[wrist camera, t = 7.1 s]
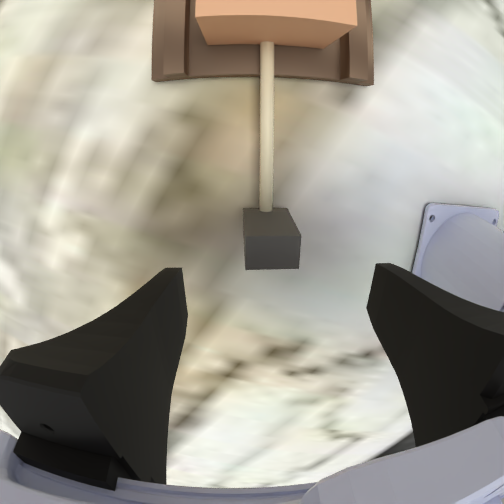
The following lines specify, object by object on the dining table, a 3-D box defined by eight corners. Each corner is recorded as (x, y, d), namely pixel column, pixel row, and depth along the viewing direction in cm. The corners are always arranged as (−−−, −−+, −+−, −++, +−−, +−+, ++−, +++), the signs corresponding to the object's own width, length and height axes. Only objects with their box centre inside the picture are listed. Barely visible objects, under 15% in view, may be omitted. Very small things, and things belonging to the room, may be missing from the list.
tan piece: (316, 234, 18) (342, 276, 13) (211, 235, 17) (203, 280, 13) (320, -26, 11) (348, -65, 7) (209, -31, 11) (200, -76, 6)
